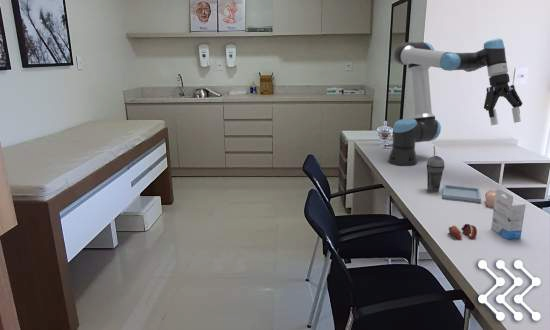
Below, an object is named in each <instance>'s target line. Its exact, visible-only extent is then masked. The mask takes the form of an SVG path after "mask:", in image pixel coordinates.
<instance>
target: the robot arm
mask: <svg viewBox="0 0 550 330" xmlns="http://www.w3.org/2000/svg"><path fill="white" fill-rule="evenodd" d="M482 48H483V49H480V50H478V51H475V52H451V51H442V50H441V51H440V50H435V48H434V47H433V45H432V44H430V43H428V42H423V41H421V42H419V41H418V42H413V41H412V42H408V41H407V42H402V43H400V44H398V45H397V46H396V47H395V49H394V51H393V59H394V61H395V62H396V63H397V64H400V65H405V66H408V70H409V71H410V72H411V80H412V93H413V103H414V105H413V106H414V114H415V115H414V116H413V117H412V118H403V119H398V120H397V121H395V122H394V124H393V129H392V132H393V135H392V149H391V150H390V153H389V156H388V163H389V164H392V165H395V166H406V167H407V166H415V165H417V164H418V157H417V153H416V149H415V147H416V143H424V142H425V143H426V142H430V141H435V140H436V139H438V137H439V136H440V135H441V130H442V127H441V123H440V122H439V121H438V120H437V119H436V116H435V115H434V114H433V113H432V100H431V89H430V88H431V87H430V75H429V74H430V73H429V69H430V68H431V67H433V68H439V69H441V70H443V71H449V72H452V71H465V72H466V73H467V72H468V73H470V72H475V71H477V70H480V69H482V68H485V67H487V76H488V77H489V78H488V81H489V85H490V86H488V87H486V94H485V95H486V96H485V99H484V100H485V101H484V104H483V110H485V111H487V112H488V116H489V119H490V125H491V126H496V125H499V123H498V114H497V109H496V108H495V107H496V106H497V102H498V100H499V98H500V97H503V98H504V99H506V100H507V102H508V103H509V104H510V105H511V106H512V108H511V111H512V119H513V123H514V124H516V123H520V122H521V121H522V120H521V111H520V107H522V105H523V101H522V99H521V98H520V96H519V94H518V93H517V90H516V87H515V84H511V85H509V83H510V75H509V73H508V72H509V68H508V62H507V57H506V47H505V44H504V41H503V39H501V38H494V39H493V38H492V39H489V40H487V41H485V42H484V43H483V47H482Z"/></svg>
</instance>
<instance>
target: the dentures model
mask: <svg viewBox="0 0 550 330" xmlns="http://www.w3.org/2000/svg"><path fill="white" fill-rule="evenodd" d="M448 232H449V234H450V235H452V236H453V237H454V238H455V239H456V240H458V241H460V240H461V239H462V237H463V233H464V234H466V235H467V236H468V238H469V239H472V240H476V237H477V233H478V230H477V227H476V226H475V225H471V224H469V223H465V224H463V226H462V227H461V229H460V227H459V226H457V225H456V224H453V225H452V226H449V227H448Z"/></svg>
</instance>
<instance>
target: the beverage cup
mask: <svg viewBox="0 0 550 330" xmlns="http://www.w3.org/2000/svg"><path fill="white" fill-rule="evenodd" d="M444 170H445V161H444V159H443V158H442V157H440V156H438V155H436V146H435V145H434V146H433V156H431V157H429V158H428V160H427V161H426V171H427V172H426V173H427V175H426V176H427V178H426V179H427V180H426V181H427V184H426V185H427V192H430V193H433V194H434V193H435V194H437V193H439V190H440V188H441V181H442V177H443V172H444Z"/></svg>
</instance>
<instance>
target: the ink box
mask: <svg viewBox="0 0 550 330" xmlns="http://www.w3.org/2000/svg"><path fill="white" fill-rule="evenodd" d="M495 191H496V197H495V202H494V208H493V212H492V219H491V227H490V228H491V230H492V231H494V232H496V233H497V234H498V235H500V236H501V237H503V238H504V239H506V240H513V239H521V236H522V231H523V230H522V229H523V225H524V219H525V212H526V211H525V210H526V204H527V203H526V204H525V203H523V202H522V201H520V200H517V199H515V198H514V195H512V194H510V193H509V192H507V191H504V190H503V189H500V188H499V187H497V188H496V190H495Z"/></svg>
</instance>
